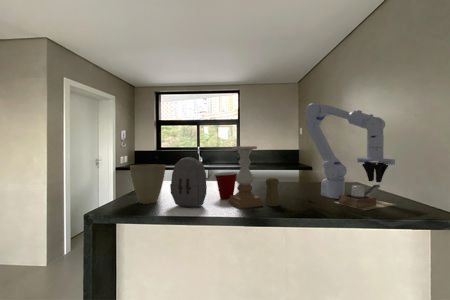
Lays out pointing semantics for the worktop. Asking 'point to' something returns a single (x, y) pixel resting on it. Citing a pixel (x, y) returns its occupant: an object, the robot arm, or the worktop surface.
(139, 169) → the plant pot
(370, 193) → the bar
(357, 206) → the socket board
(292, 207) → the worktop surface
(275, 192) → the cork
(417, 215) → the worktop surface
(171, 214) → the worktop surface
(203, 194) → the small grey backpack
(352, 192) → the steel peg
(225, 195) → the plastic cup
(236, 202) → the candle holder
